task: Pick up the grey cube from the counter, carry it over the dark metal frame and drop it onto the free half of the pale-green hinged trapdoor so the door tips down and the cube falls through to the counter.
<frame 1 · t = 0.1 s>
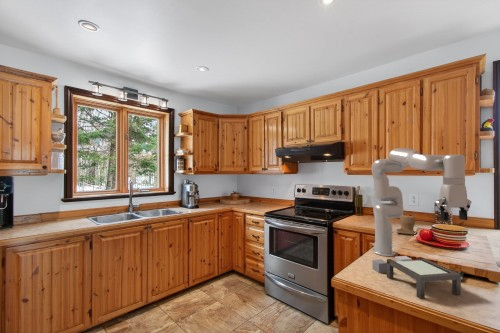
hand: (453, 220, 106), 31 cm above the worktop, fingers open, 9 cm apart
grey cube: (379, 270, 124), on the worktop
decorative rock: (445, 273, 122), on the worktop
frame: (421, 285, 109), on the worktop
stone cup: (405, 233, 194), on the worktop
trapdoor: (415, 265, 111), point 8 cm above the worktop, hinge at -0.3°
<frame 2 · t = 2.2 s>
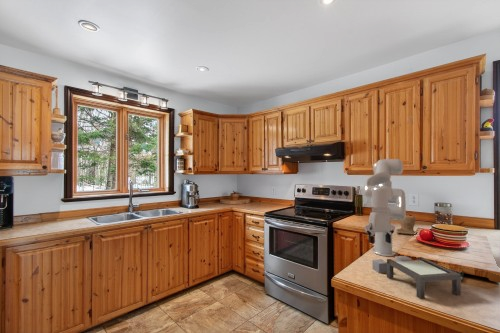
hand: (379, 242, 124), 15 cm above the worktop, fingers open, 9 cm apart
trapdoor: (415, 266, 111), point 8 cm above the worktop, hinge at -0.8°
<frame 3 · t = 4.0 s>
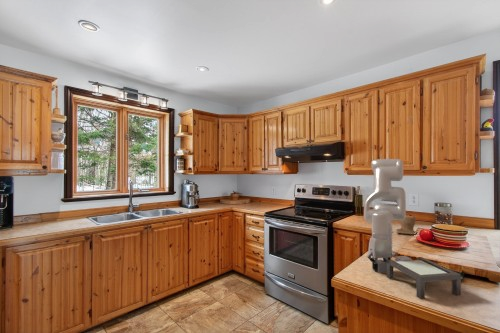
hand: (379, 269, 124), 0 cm above the worktop, fingers closed on grey cube, 5 cm apart
grey cube: (379, 270, 124), on the worktop, touching gripper
everything else where it was.
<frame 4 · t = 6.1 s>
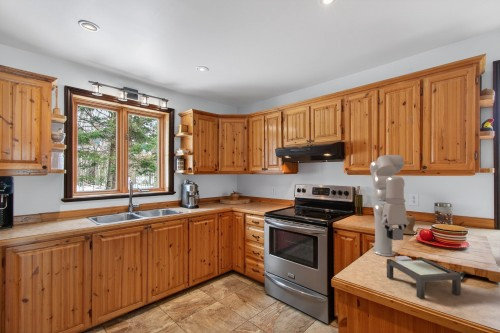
hand: (394, 237, 117), 20 cm above the worktop, fingers closed on grey cube, 5 cm apart
grey cube: (394, 238, 117), point 19 cm above the worktop, touching gripper
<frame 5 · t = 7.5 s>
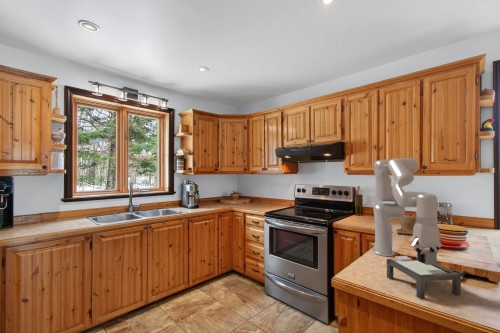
hand: (426, 261, 106), 12 cm above the worktop, fingers closed on grey cube, 5 cm apart
grey cube: (426, 262, 106), point 12 cm above the worktop, touching gripper
when the fingers open (12 cm above the worktop, at t = 8.3 s): grey cube drops 8 cm and tips over, resting on trapdoor.
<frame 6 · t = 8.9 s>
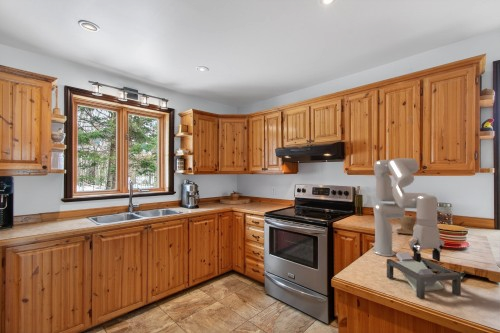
hand: (426, 260, 106), 13 cm above the worktop, fingers open, 9 cm apart
grey cube: (423, 280, 107), point 3 cm above the worktop, tilted 33°, touching trapdoor
trapdoor: (414, 270, 112), point 6 cm above the worktop, hinge at -32.8°, touching grey cube
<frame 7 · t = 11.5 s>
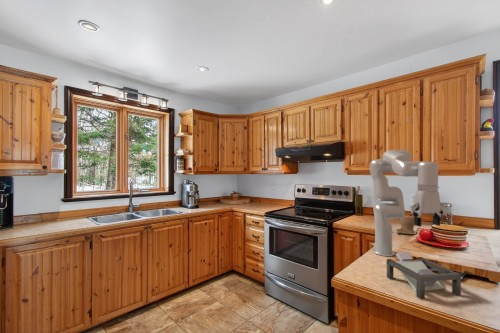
hand: (427, 225, 109), 28 cm above the worktop, fingers open, 9 cm apart
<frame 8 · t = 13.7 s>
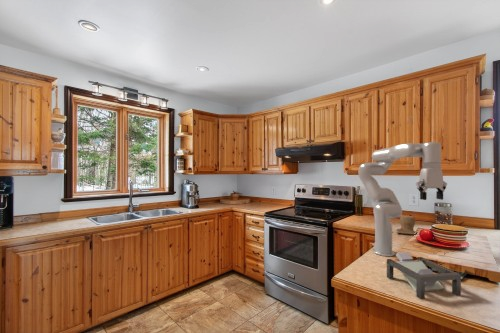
hand: (431, 199, 121), 38 cm above the worktop, fingers open, 9 cm apart
at the end: grey cube point 3.0 cm above the worktop; grey cube inside the target area (3.6 cm from its centre), point 3.0 cm above the worktop; the gripper is holding nothing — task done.
